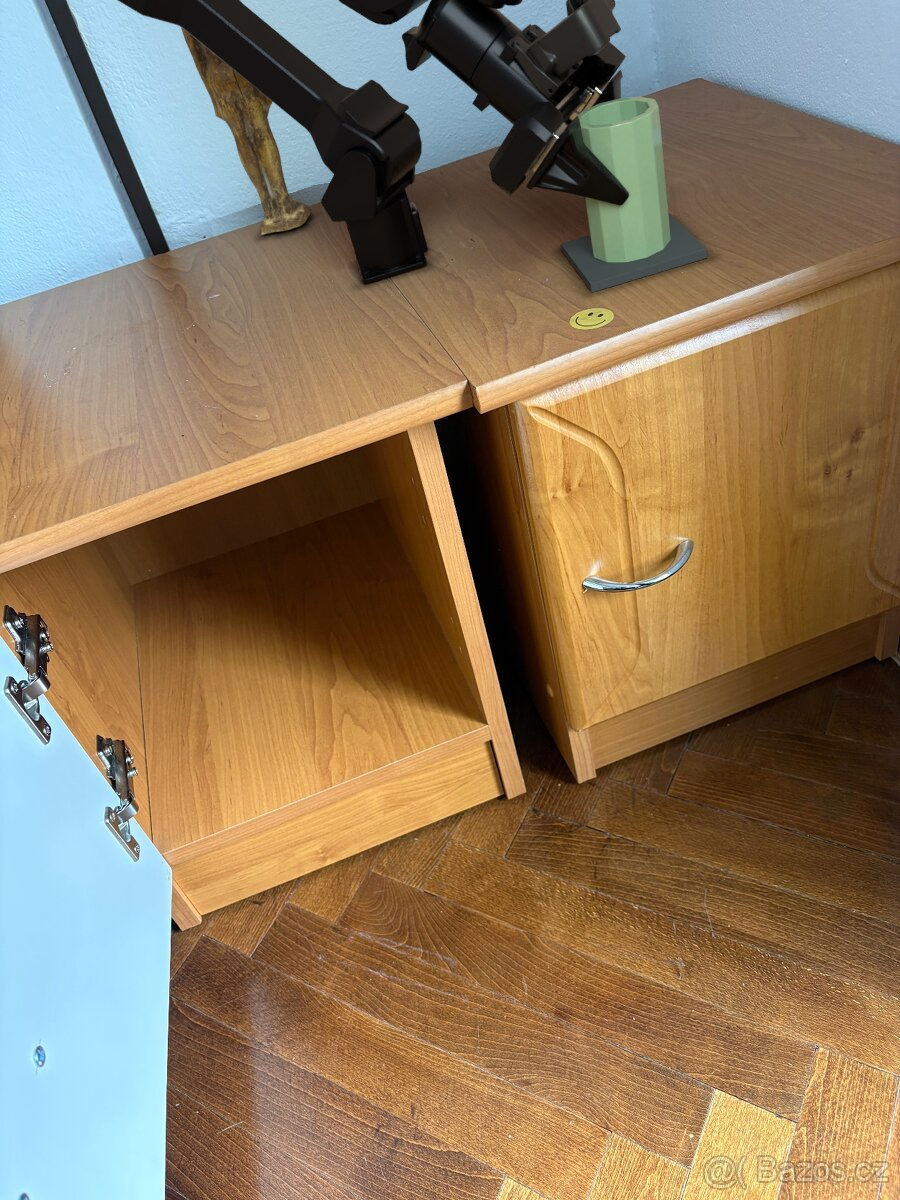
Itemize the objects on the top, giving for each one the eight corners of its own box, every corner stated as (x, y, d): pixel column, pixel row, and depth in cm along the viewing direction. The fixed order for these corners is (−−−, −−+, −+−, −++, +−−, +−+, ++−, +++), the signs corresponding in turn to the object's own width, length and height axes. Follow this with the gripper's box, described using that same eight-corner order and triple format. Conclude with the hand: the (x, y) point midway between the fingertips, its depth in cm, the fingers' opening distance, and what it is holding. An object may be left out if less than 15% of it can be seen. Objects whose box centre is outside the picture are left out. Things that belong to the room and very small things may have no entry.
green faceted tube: (577, 252, 89) (557, 121, 82) (636, 223, 90) (621, 93, 83) (624, 269, 84) (607, 132, 77) (685, 238, 86) (674, 102, 79)
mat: (591, 292, 84) (590, 283, 83) (561, 251, 92) (560, 243, 91) (707, 257, 84) (707, 248, 83) (668, 219, 91) (667, 211, 91)
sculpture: (320, 211, 116) (222, -94, 97) (309, 233, 112) (204, -84, 93) (265, 223, 118) (159, -76, 99) (252, 245, 113) (138, -65, 94)
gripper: (494, -1, 69) (668, 149, 71) (585, -69, 81) (732, 62, 83) (424, 129, 78) (580, 260, 80) (515, 51, 90) (649, 167, 91)
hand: (639, 182), depth 83 cm, fingers closed on green faceted tube, 7 cm apart
